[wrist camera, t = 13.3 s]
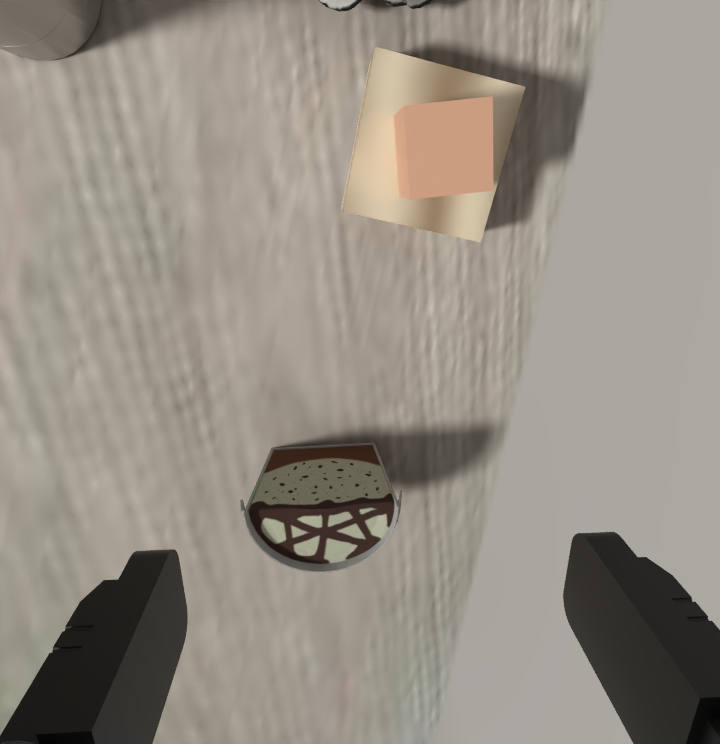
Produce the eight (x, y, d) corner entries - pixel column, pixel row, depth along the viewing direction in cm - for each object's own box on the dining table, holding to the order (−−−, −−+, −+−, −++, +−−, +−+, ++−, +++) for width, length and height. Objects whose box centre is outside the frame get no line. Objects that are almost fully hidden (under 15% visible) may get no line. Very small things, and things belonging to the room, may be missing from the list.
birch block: (341, 207, 40) (342, 211, 35) (369, 63, 37) (375, 46, 32) (463, 235, 41) (480, 242, 36) (501, 98, 38) (525, 86, 33)
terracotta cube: (399, 196, 35) (410, 199, 30) (393, 115, 33) (404, 105, 29) (471, 189, 35) (493, 190, 30) (469, 107, 33) (492, 96, 29)
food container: (261, 506, 48) (245, 583, 39) (255, 448, 46) (235, 516, 37) (391, 498, 49) (405, 573, 40) (390, 441, 47) (405, 506, 37)
